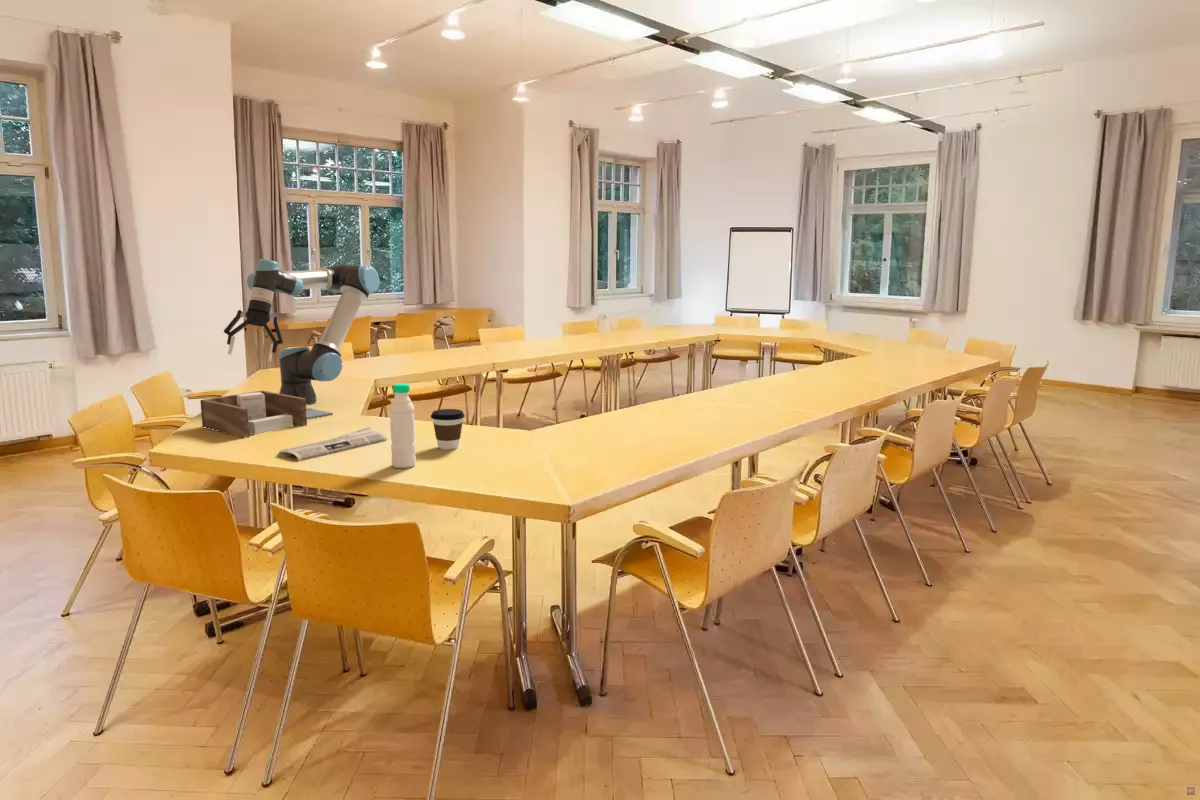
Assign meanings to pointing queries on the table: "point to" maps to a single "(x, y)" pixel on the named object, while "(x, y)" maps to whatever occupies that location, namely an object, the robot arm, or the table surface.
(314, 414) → the grey mat
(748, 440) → the table surface
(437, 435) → the coffee cup
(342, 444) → the newspaper
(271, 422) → the upper offcut
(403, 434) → the water bottle
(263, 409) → the ink box
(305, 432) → the table surface
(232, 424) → the walnut open-sided box
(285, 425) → the lower offcut
